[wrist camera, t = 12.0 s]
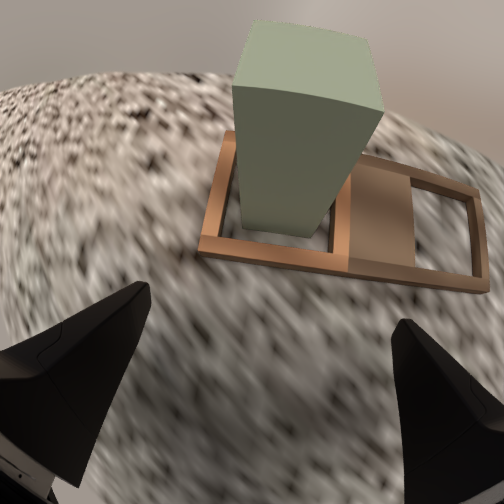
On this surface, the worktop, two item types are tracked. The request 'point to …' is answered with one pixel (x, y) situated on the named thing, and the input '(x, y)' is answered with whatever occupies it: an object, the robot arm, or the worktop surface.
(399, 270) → the copper brown frame
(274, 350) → the worktop surface
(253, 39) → the sage peg
